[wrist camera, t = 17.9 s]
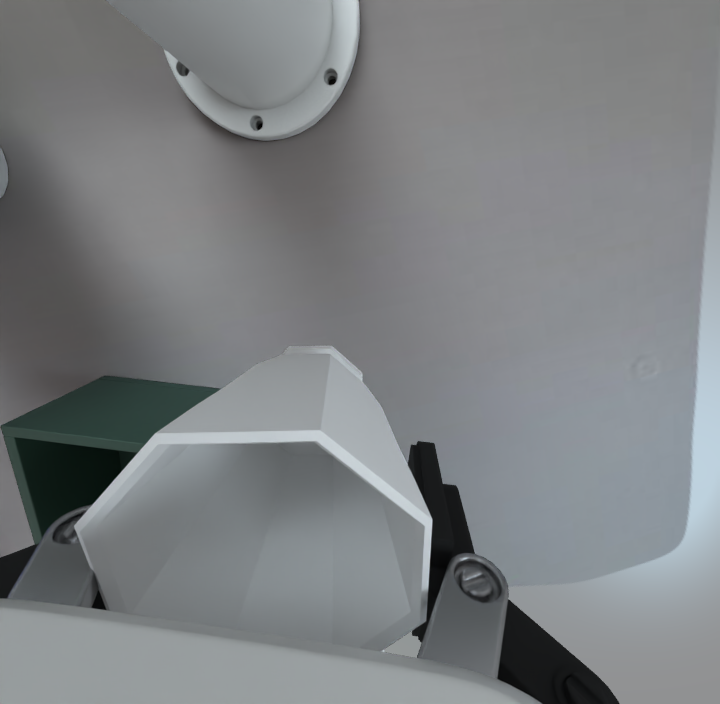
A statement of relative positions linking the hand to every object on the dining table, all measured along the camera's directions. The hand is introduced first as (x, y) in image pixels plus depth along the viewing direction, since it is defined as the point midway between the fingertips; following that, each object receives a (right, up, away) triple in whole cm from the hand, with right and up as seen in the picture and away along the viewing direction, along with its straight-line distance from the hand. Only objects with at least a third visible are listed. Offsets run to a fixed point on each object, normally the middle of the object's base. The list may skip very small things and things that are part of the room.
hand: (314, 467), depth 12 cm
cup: (0, +1, +3) cm, 3 cm away
